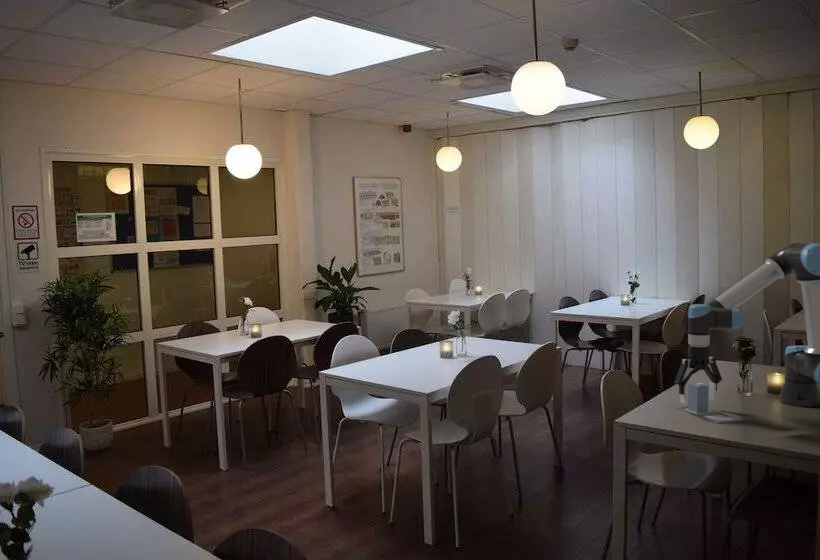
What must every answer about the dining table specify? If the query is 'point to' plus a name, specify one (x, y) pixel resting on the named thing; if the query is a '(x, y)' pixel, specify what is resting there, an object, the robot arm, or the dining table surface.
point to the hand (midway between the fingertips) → (698, 401)
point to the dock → (712, 415)
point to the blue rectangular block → (698, 397)
